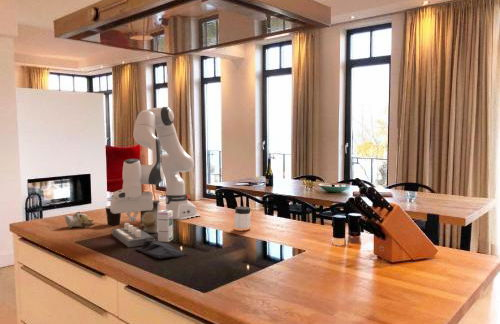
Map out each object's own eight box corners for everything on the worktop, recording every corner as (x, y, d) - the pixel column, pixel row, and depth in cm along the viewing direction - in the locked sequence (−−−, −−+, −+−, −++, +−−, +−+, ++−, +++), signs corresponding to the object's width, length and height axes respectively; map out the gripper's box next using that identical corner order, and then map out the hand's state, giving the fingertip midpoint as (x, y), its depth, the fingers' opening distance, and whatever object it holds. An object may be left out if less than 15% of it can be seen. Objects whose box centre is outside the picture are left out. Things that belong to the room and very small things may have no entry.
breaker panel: (135, 232, 216) (135, 225, 216) (153, 243, 195) (153, 236, 195) (112, 234, 210) (112, 228, 209) (128, 247, 188) (128, 240, 188)
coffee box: (139, 232, 215) (139, 202, 214) (142, 229, 222) (142, 200, 220) (157, 232, 216) (157, 202, 214) (159, 229, 222) (159, 200, 221)
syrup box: (168, 242, 198) (168, 212, 197) (157, 241, 199) (157, 211, 198) (173, 239, 203) (173, 209, 202) (162, 238, 205) (162, 209, 204)
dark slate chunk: (154, 263, 168) (154, 251, 168) (134, 250, 185) (134, 239, 185) (188, 256, 177) (188, 245, 177) (165, 245, 195) (165, 235, 194)
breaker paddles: (127, 228, 211) (127, 222, 210) (141, 237, 194) (140, 230, 194) (124, 229, 210) (124, 223, 209) (137, 237, 193) (137, 231, 193)
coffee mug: (118, 226, 228) (118, 208, 227) (103, 226, 228) (103, 208, 227) (125, 221, 240) (125, 204, 239) (110, 221, 240) (110, 204, 239)
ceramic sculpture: (64, 210, 227) (93, 209, 234) (63, 225, 227) (92, 225, 234) (65, 214, 217) (95, 213, 224) (64, 230, 218) (95, 229, 225)
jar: (253, 230, 224) (253, 208, 223) (241, 232, 219) (242, 209, 218) (243, 227, 231) (243, 205, 230) (231, 229, 226) (231, 207, 225)
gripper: (150, 190, 209) (150, 217, 210) (109, 193, 197) (109, 221, 199) (155, 191, 204) (155, 219, 205) (112, 195, 192) (113, 224, 193)
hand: (132, 220), depth 202 cm, fingers closed
